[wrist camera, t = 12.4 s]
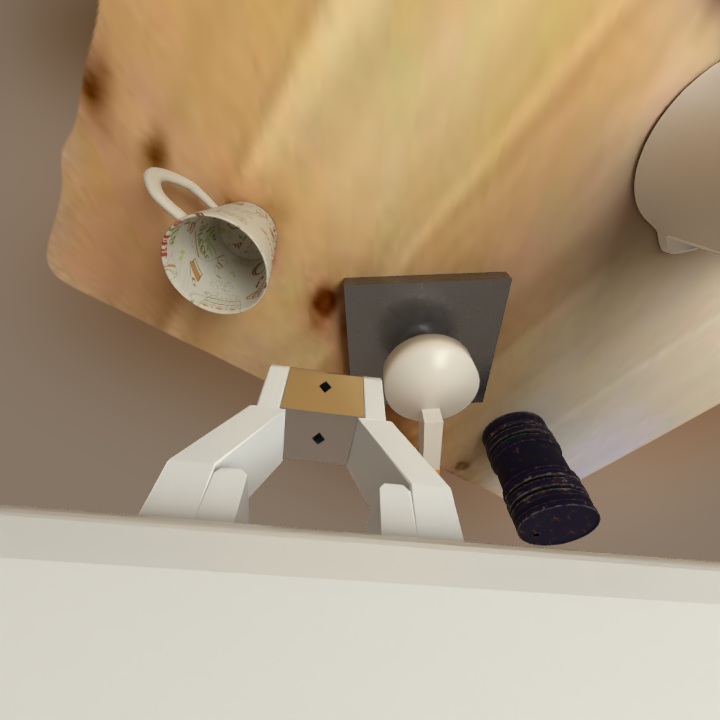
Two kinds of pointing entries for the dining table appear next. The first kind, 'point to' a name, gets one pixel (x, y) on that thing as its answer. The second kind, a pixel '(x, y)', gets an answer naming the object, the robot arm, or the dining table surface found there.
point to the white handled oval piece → (430, 386)
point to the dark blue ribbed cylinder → (538, 481)
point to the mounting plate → (424, 316)
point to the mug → (215, 248)
